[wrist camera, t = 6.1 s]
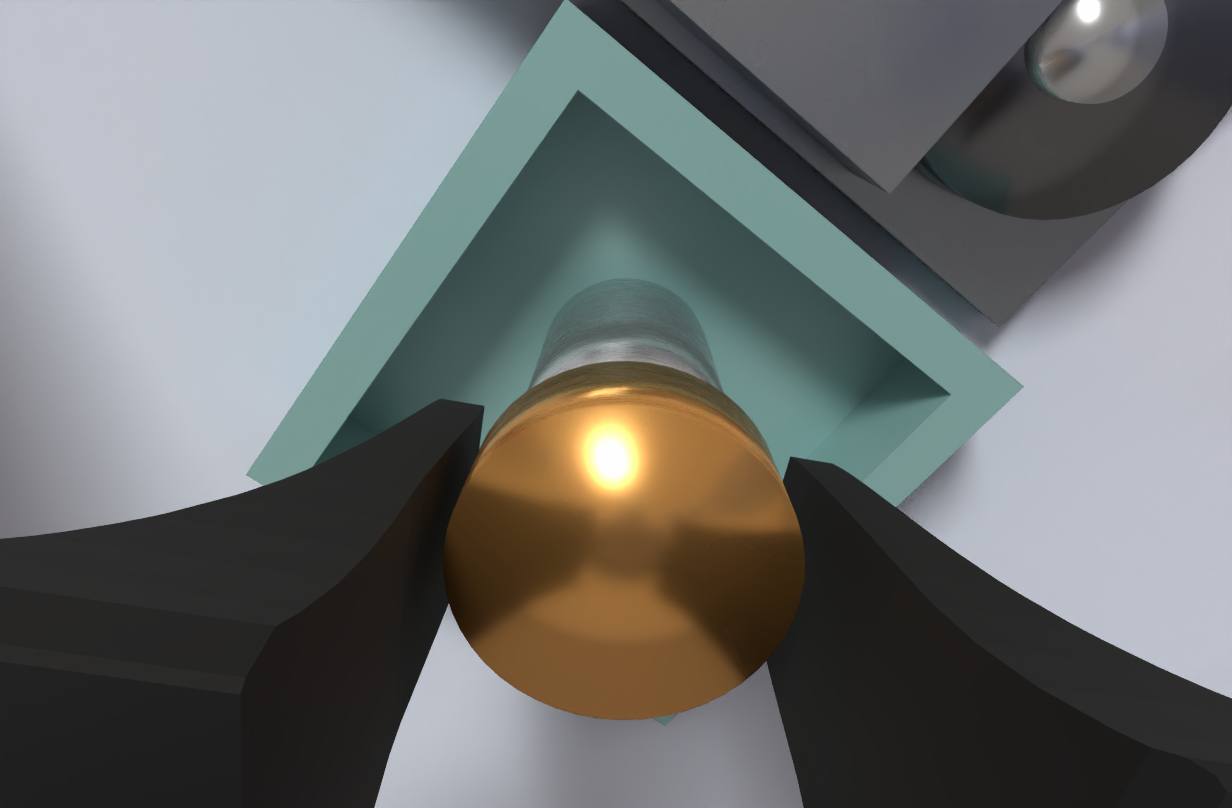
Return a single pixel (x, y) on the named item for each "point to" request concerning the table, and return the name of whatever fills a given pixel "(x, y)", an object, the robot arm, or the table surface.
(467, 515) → the pin
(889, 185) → the plate
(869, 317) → the tray
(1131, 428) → the table surface
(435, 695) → the table surface
